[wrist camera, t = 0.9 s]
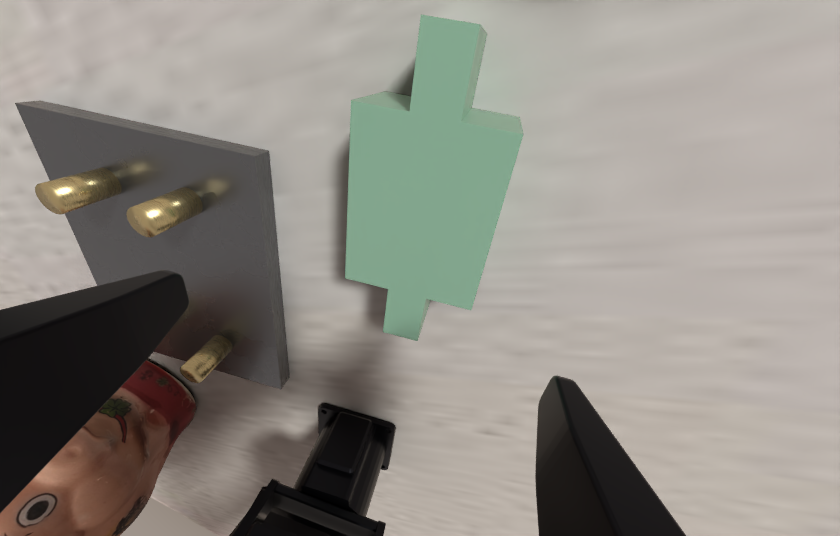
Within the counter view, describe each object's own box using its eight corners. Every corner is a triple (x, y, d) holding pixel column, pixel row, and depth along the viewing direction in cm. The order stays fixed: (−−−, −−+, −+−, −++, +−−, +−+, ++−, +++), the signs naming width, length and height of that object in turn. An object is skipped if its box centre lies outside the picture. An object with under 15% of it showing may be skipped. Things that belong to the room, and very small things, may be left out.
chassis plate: (268, 150, 18) (210, 173, 14) (289, 377, 28) (257, 423, 24) (40, 100, 19) (-63, 109, 16) (136, 332, 29) (85, 370, 26)
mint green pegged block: (541, 42, 13) (552, 36, 10) (466, 303, 20) (458, 352, 17) (391, 17, 14) (354, 3, 10) (369, 279, 21) (343, 321, 17)
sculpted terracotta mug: (195, 462, 40) (68, 626, 29) (97, 411, 39) (-78, 561, 27) (230, 375, 29) (49, 582, 18) (96, 300, 28) (-195, 471, 16)
